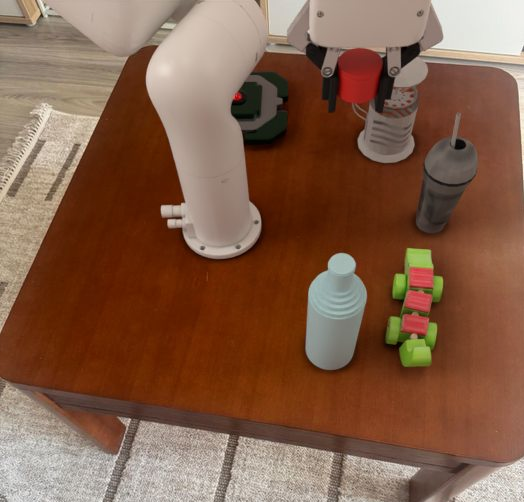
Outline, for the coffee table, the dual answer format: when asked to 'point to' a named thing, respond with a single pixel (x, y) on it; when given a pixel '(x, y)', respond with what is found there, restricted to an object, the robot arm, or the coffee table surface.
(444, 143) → the beverage cup
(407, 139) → the french press
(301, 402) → the coffee table surface
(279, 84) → the four-lobed dark green device
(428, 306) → the toy crocodile
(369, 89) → the cap
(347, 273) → the bottle
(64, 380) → the coffee table surface
